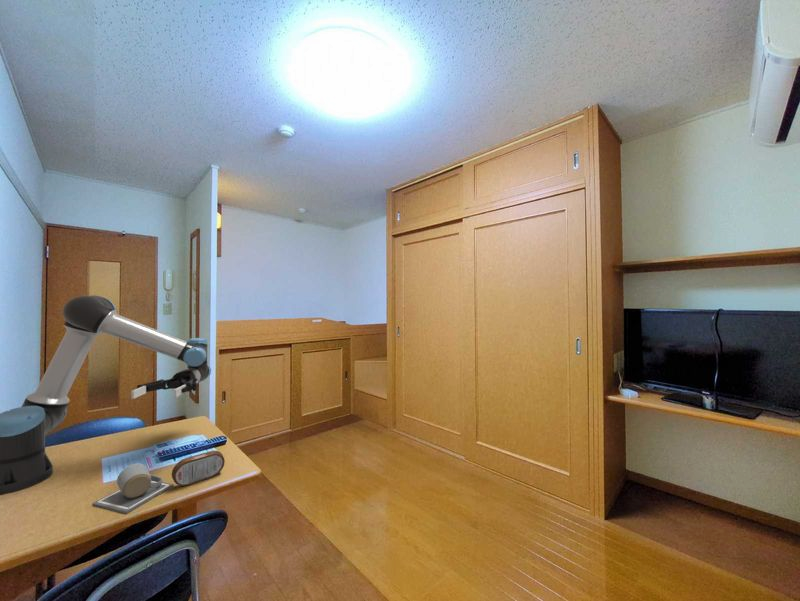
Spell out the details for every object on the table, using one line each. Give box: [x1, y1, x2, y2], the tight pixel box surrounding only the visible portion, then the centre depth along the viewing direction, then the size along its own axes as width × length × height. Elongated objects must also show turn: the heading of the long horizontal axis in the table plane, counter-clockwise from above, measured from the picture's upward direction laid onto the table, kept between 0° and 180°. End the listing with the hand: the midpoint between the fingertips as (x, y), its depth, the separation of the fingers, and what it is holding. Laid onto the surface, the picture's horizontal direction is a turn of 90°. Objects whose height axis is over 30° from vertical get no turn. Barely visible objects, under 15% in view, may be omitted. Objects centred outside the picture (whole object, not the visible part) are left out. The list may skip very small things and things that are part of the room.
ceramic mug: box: [116, 463, 164, 498], centre depth 101 cm, size 11×8×8 cm
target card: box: [91, 481, 175, 515], centre depth 100 cm, size 14×14×1 cm
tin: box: [171, 450, 226, 487], centre depth 108 cm, size 15×3×8 cm, turn 133°
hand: (153, 394), depth 112 cm, fingers open, 13 cm apart
